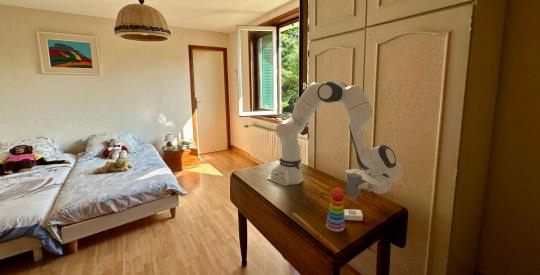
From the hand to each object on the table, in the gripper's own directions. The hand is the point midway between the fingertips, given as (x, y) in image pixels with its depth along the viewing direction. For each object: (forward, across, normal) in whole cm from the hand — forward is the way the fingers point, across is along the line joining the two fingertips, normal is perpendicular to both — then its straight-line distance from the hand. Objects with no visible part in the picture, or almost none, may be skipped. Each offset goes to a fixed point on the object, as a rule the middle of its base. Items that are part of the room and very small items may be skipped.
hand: (352, 184), depth 109 cm
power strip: (0, -1, +18) cm, 18 cm away
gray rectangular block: (-1, 0, +7) cm, 7 cm away
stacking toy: (+10, +2, +18) cm, 21 cm away
